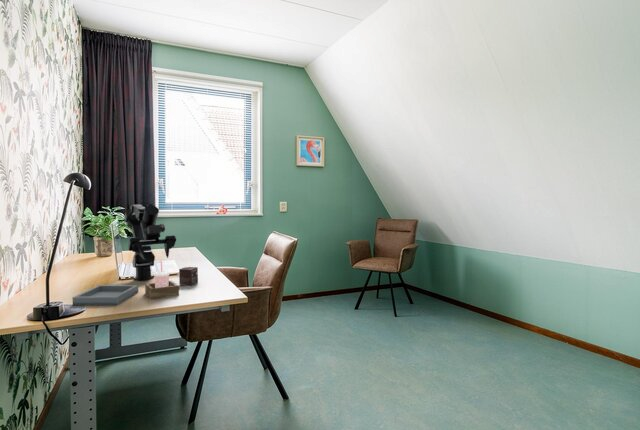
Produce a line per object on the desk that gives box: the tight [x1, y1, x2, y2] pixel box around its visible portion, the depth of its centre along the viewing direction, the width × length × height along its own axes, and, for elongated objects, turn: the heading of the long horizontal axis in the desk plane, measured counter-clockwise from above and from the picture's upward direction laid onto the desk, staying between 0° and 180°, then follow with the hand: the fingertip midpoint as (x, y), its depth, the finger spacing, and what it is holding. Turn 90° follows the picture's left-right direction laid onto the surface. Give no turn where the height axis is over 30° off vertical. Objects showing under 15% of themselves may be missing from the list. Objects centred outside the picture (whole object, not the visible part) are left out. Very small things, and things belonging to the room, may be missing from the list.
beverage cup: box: [153, 260, 171, 288], centre depth 157 cm, size 6×6×14 cm
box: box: [178, 266, 199, 287], centre depth 175 cm, size 6×6×7 cm
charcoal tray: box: [72, 284, 139, 306], centre depth 151 cm, size 18×16×3 cm
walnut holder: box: [144, 280, 180, 300], centre depth 157 cm, size 10×10×4 cm
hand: (156, 258), depth 163 cm, fingers open, 9 cm apart
